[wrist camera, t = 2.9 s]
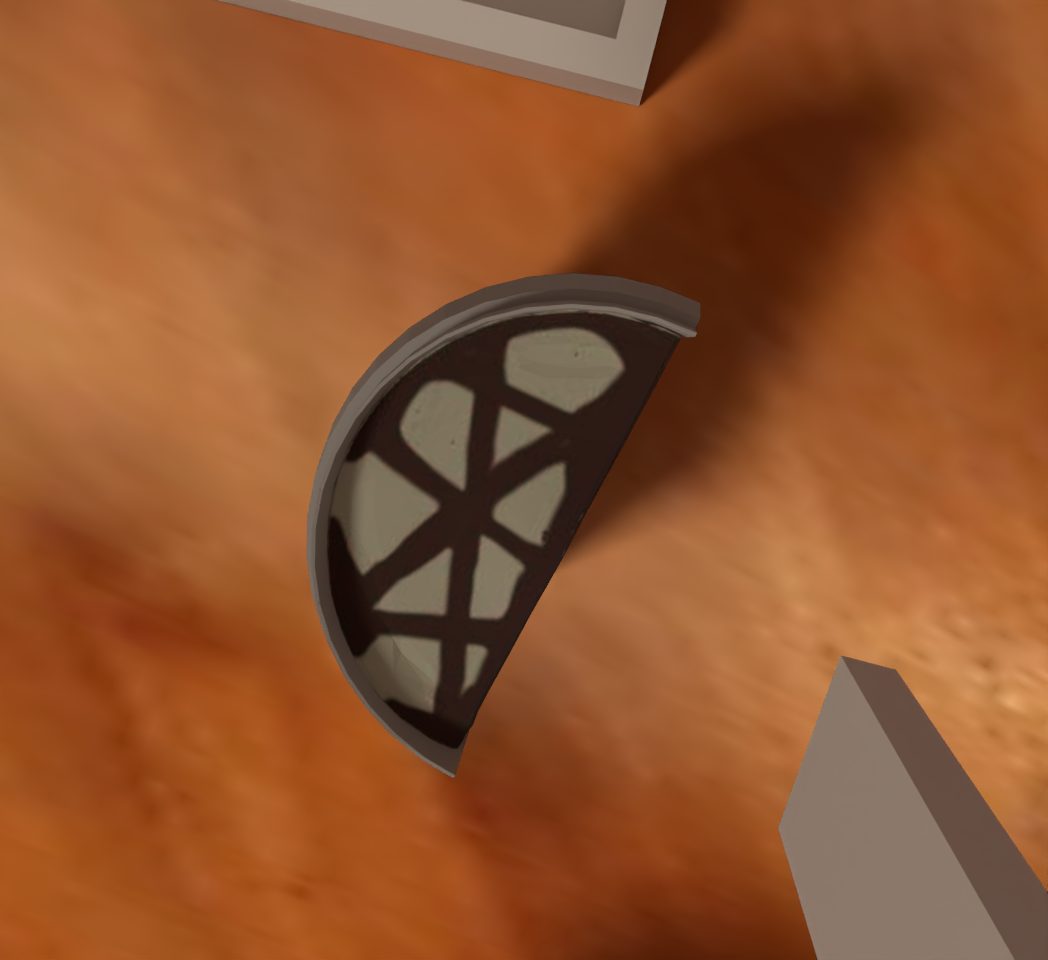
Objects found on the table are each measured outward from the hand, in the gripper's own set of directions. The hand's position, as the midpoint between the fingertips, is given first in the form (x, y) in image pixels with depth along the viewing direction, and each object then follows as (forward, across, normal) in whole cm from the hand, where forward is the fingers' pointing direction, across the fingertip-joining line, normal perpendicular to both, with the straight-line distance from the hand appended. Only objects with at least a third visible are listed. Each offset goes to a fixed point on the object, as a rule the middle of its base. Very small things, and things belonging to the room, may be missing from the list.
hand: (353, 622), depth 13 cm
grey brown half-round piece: (+18, 0, 0) cm, 18 cm away
